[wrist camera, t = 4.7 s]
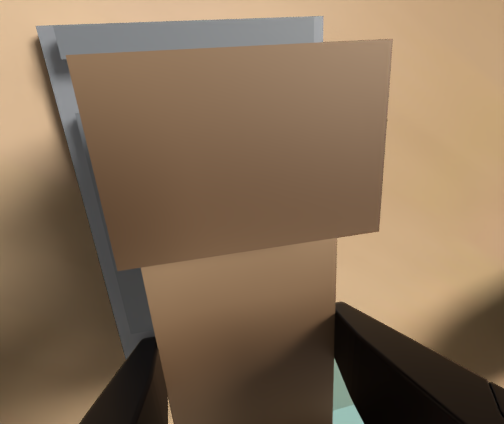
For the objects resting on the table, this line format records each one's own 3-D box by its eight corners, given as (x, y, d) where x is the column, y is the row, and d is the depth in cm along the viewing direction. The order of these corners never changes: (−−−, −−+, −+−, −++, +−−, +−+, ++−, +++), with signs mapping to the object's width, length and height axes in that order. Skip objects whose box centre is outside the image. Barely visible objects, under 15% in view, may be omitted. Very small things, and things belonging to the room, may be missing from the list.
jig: (46, 30, 13) (16, 17, 10) (314, 20, 14) (339, 8, 12) (129, 348, 19) (121, 385, 16) (312, 313, 20) (328, 342, 18)
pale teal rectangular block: (394, 334, 23) (434, 381, 19) (391, 376, 24) (428, 427, 21) (306, 356, 22) (331, 411, 18) (308, 399, 23) (332, 456, 20)
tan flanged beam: (134, 79, 9) (64, 54, 4) (278, 70, 9) (392, 38, 4) (193, 407, 13) (199, 610, 8) (290, 385, 13) (355, 560, 8)
